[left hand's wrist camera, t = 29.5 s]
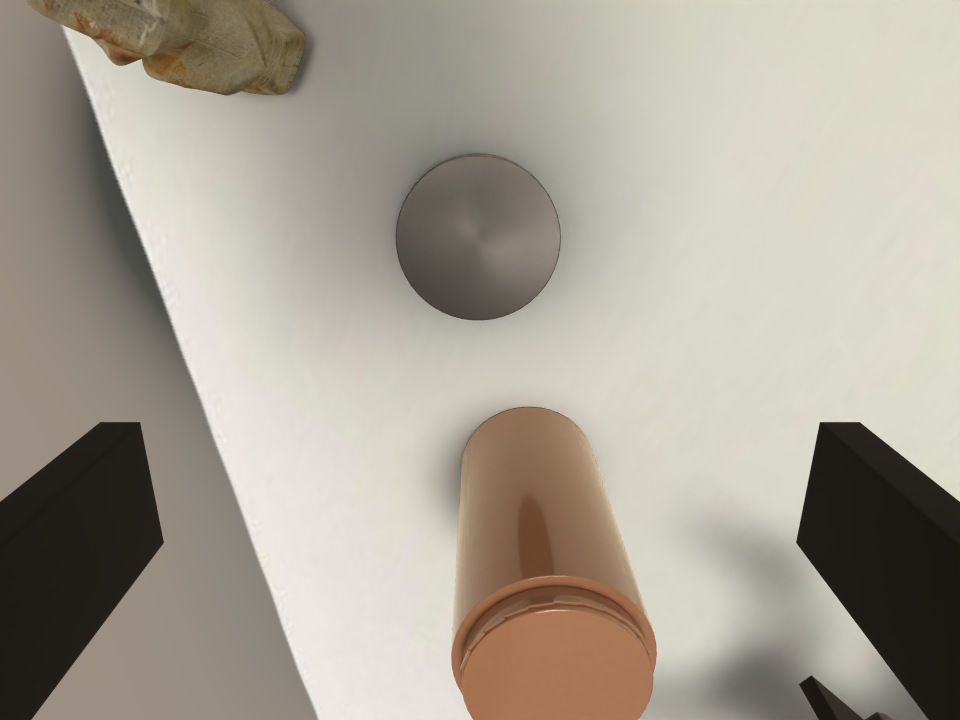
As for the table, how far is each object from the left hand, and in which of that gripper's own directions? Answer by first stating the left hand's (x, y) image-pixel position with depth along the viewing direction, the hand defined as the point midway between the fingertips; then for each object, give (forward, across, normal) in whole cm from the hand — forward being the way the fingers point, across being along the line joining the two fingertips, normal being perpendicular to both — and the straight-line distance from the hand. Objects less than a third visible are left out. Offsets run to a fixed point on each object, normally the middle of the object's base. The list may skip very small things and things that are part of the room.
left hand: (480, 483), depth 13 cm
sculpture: (+30, -13, +11) cm, 35 cm away
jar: (+30, +3, -17) cm, 35 cm away
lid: (+29, 0, 0) cm, 29 cm away
